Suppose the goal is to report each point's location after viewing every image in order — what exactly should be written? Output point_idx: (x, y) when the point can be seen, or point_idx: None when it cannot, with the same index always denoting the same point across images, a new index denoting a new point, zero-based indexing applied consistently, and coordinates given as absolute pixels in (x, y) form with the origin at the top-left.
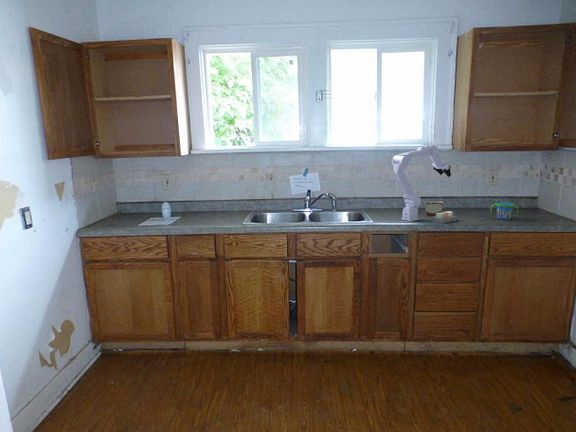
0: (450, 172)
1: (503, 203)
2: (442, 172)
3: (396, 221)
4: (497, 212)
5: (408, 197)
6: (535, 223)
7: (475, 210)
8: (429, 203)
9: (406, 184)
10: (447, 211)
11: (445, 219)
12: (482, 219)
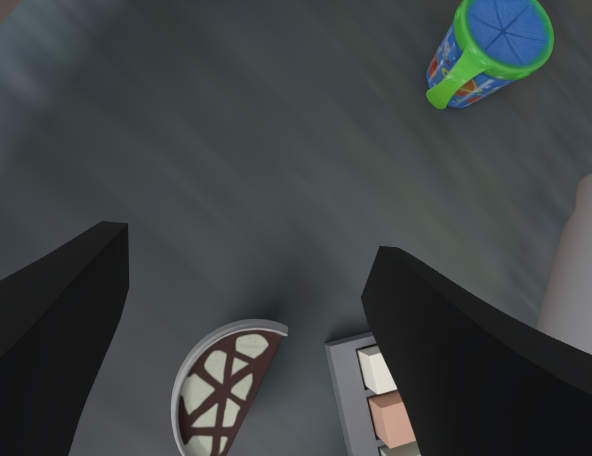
0: (453, 282)
1: (479, 8)
2: (120, 253)
3: None
4: (466, 92)
5: None
6: (562, 54)
7: (216, 3)
8: (232, 442)
9: None
10: (374, 369)
11: None
12: (424, 177)
